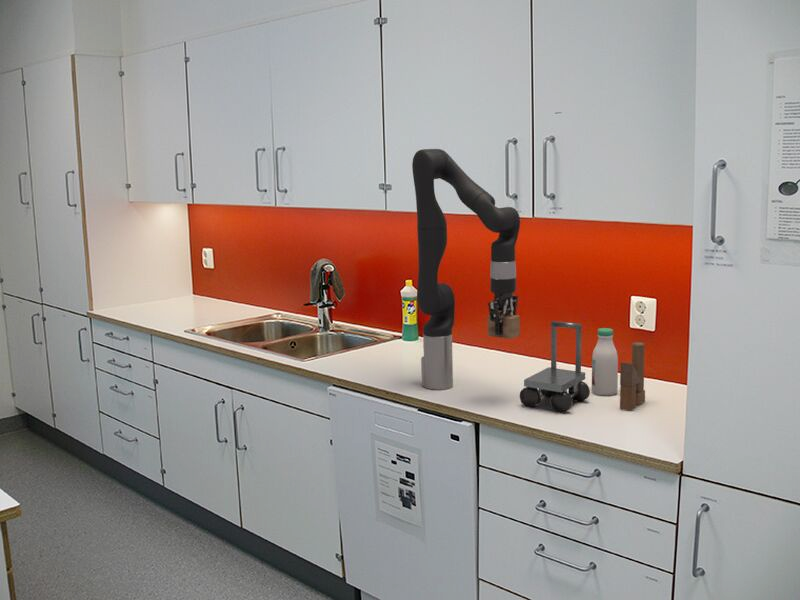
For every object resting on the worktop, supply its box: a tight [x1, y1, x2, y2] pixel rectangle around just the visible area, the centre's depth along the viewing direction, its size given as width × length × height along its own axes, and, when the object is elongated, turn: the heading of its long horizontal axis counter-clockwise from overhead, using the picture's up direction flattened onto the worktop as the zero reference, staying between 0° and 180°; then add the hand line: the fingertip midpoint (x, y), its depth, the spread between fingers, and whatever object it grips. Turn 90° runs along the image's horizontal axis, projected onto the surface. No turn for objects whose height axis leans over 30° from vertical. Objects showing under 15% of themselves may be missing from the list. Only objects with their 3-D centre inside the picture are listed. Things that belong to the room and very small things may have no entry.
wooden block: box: [619, 341, 646, 412], centre depth 247 cm, size 4×11×18 cm, turn 143°
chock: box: [487, 314, 521, 340], centre depth 251 cm, size 8×5×6 cm, turn 54°
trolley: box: [519, 320, 591, 414], centre depth 250 cm, size 16×16×23 cm
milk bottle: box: [591, 327, 619, 397], centre depth 260 cm, size 8×8×20 cm
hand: (503, 332), depth 251 cm, fingers closed on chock, 5 cm apart
